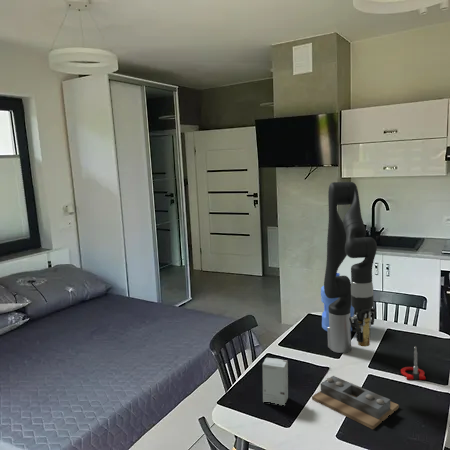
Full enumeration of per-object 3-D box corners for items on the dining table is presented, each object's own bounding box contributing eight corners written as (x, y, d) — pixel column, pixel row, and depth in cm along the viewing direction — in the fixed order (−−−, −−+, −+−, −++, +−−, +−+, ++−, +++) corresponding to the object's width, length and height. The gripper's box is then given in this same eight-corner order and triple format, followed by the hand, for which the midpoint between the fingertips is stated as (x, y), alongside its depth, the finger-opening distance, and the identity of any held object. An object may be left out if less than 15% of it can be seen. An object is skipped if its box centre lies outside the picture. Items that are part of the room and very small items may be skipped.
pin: (354, 344, 151) (353, 318, 150) (361, 340, 154) (360, 314, 153) (366, 348, 147) (365, 321, 146) (373, 343, 150) (372, 317, 149)
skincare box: (263, 403, 150) (260, 364, 148) (267, 394, 156) (265, 356, 154) (286, 406, 147) (284, 367, 145) (289, 397, 153) (287, 359, 151)
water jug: (359, 326, 210) (358, 272, 206) (345, 337, 199) (343, 280, 194) (331, 319, 221) (330, 268, 216) (316, 329, 209) (314, 275, 205)
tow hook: (398, 369, 168) (404, 380, 159) (398, 338, 166) (404, 347, 157) (420, 369, 166) (428, 380, 157) (420, 338, 165) (428, 347, 156)
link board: (312, 399, 150) (311, 385, 150) (338, 382, 160) (338, 369, 160) (372, 429, 132) (372, 414, 131) (398, 407, 142) (398, 393, 141)
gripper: (363, 286, 155) (364, 331, 158) (341, 296, 146) (343, 343, 149) (382, 290, 150) (383, 336, 152) (360, 300, 141) (362, 349, 143)
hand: (363, 339), depth 150 cm, fingers closed on pin, 4 cm apart
